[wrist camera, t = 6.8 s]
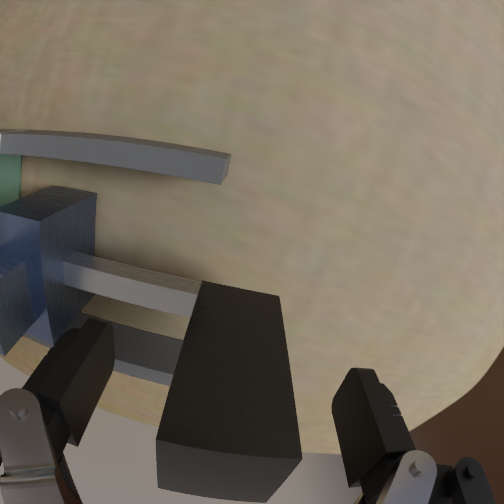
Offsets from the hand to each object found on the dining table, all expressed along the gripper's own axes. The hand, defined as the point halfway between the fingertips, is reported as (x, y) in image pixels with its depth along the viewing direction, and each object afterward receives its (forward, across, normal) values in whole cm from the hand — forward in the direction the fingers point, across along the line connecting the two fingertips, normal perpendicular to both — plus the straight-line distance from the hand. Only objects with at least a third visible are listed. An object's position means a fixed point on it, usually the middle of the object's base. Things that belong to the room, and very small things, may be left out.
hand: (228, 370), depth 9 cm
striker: (+7, +5, 0) cm, 8 cm away
